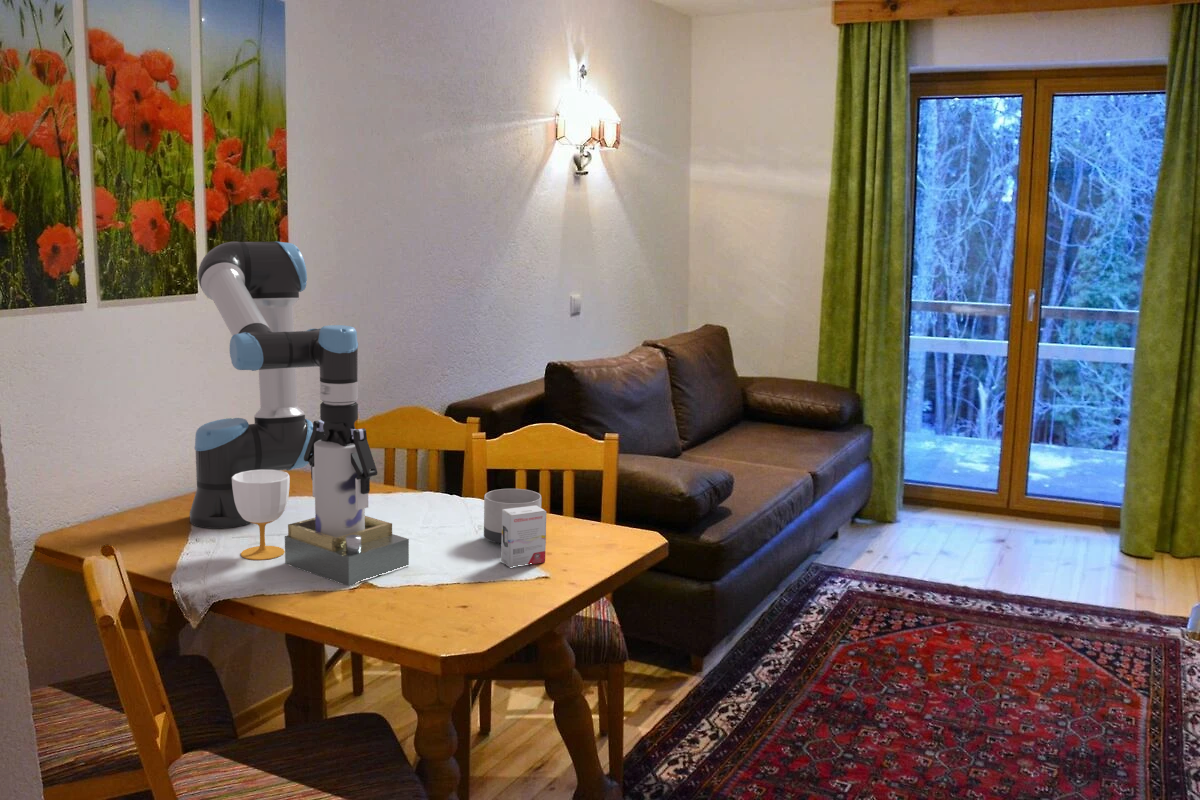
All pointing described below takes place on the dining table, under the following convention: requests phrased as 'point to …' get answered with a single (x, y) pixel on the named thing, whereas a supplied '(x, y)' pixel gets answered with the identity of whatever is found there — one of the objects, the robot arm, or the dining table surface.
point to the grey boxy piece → (346, 551)
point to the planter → (504, 500)
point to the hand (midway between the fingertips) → (340, 502)
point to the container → (336, 490)
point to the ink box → (523, 535)
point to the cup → (261, 505)
